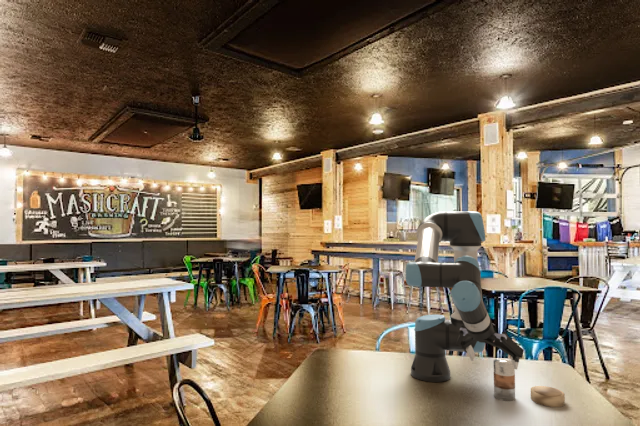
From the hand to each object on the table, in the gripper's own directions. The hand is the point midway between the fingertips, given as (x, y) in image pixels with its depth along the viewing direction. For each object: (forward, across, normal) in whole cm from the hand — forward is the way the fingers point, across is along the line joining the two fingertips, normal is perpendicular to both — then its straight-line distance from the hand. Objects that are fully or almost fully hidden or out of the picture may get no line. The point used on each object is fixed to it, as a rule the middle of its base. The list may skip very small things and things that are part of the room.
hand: (494, 361), depth 135 cm
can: (+18, 0, -3) cm, 18 cm away
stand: (+22, +12, +1) cm, 25 cm away
